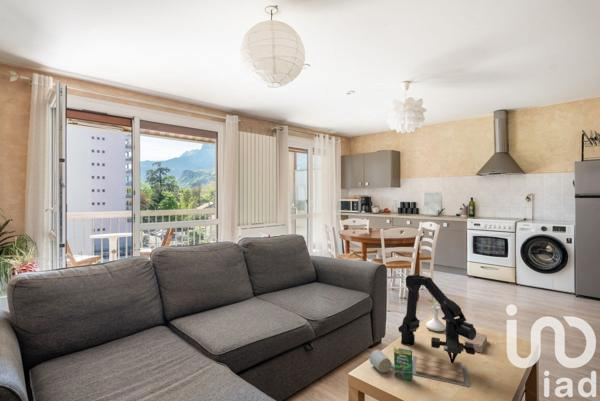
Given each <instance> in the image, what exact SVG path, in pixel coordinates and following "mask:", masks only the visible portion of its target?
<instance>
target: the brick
mask: <svg viewBox="0 0 600 401" xmlns="http://www.w3.org/2000/svg"><path fill="white" fill-rule="evenodd" d="M463 343H464V344H465V343H471V344H473V345H474V348H475V353H476V352H477V353H483V351H484V349H485V347H486V345H487V343H488V335H486V334H484V333H481V332H477V331H476V337H475V338H474V339H473V340H470V339H468V338H465V340H464V342H463Z"/></svg>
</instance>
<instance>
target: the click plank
mask: <svg viewBox="0 0 600 401" xmlns="http://www.w3.org/2000/svg"><path fill="white" fill-rule="evenodd" d="M416 356H417V362H416V363H417V364H422V365H427V366H432V367H437V368H442V369H447V370H452V371H457V372H462V365H463V364H462V362H460V361H456V360H454V363H451V360H450V359H444V358H440V357H435V356H429V355H425V354H424V355H423V354H418V353H417V355H416Z"/></svg>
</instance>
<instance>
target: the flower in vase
mask: <svg viewBox="0 0 600 401" xmlns="http://www.w3.org/2000/svg"><path fill="white" fill-rule="evenodd" d="M426 290H427V289H426ZM427 293H428V294H429V295H430V296H432V294H431V293H430V292H429V291H428V290H427ZM432 299H434V297H433V296H432V297H431V299H429V298H428V299H427V300H426V301H427V302H429V303H431V304H433V305H431V309H432V310H433V318H432V319H430V320H428V321H427V322H426V323H425V326H426V328H427V329H428V330H431V331H433V332H443V331H446V324H444V323H443V322H442V321H441V320H440V319H439V316H438V315H439V310H441V307H440V304H439V303H438V302H435V303H434V301H433V300H432Z"/></svg>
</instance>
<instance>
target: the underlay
mask: <svg viewBox="0 0 600 401" xmlns="http://www.w3.org/2000/svg"><path fill="white" fill-rule="evenodd" d="M416 362H417V355H412V364H413V376H417V377H421V378H427V379H431V380H436V381H439V382H446V383H449V384H453V385H459V386H463V387H470V385H469V377H468V371H467V366H466V365H465V364H462V373H463V379H464V384H463V383H458V382H454V381H449V380H445V379H440V378H435V377H431V376H426V375H421V374H417V373H416Z"/></svg>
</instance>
